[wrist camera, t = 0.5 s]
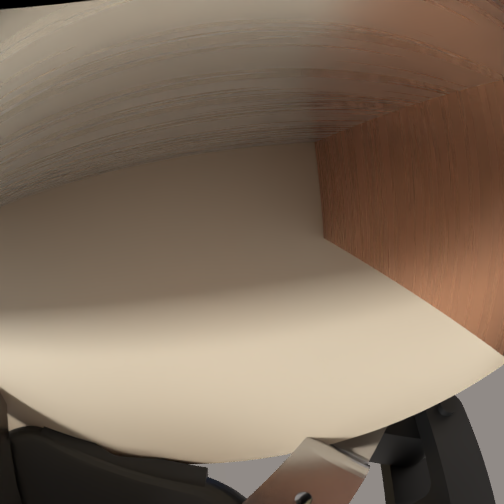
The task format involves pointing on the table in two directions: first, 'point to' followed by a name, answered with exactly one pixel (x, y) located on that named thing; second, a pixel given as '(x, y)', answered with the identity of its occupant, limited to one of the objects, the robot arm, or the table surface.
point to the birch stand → (210, 314)
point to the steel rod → (285, 116)
